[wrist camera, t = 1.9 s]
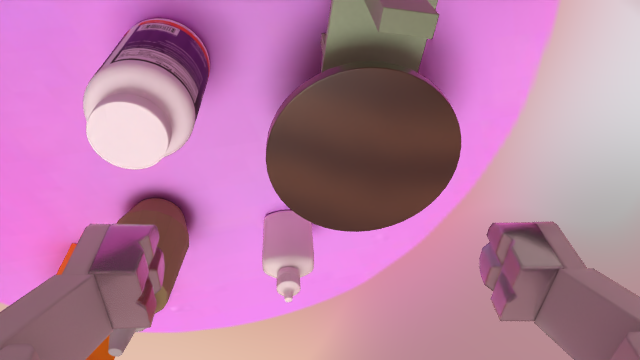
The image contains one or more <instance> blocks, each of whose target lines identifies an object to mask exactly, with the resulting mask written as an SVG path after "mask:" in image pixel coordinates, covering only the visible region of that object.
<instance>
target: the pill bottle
mask: <svg viewBox="0 0 640 360" xmlns="http://www.w3.org/2000/svg"><path fill="white" fill-rule="evenodd" d="M209 72H210V61H209V56H208V53H207V50H206V48H205V46H204V44H203V43H202V41H201V40H200V39H199V37H198V36H197V35H196V34H195V33H194V32H193V31H191V30H190V29H189V28H187V27H186V26H184V25H183V24H181V23H178V22H176V21H173V20H169V19H162V18H155V19H148V20H145V21H142V22H140V23H138V24H136V25H134V26H133V27H132V28H131V29H130V30H129V31H128V32H127V33H126V34H125V35H124V37H123V38H122V39H121V41H120V42H119V43H118V45H117V46H116V47H115V49H114V50H113V51H112V53H111V54H110V55H109V57H108V58H107V59H106V61H105V62H104V63H103V65H102V66H101V67H100V68H99V70H98V71H97V72H96V74H95V75H94V76H93V77H92V79H91V80H90V82H89V83H88V85H87V87H86V90H85V93H84V98H83V109H84V115H85V118H86V121H87V124H86V133H87V138H88V141H89V143H90V145H91V146H92V148H93V149H94V150H95V152H96V153H97V154H98V155H99V156H100V157H102V158H103V159H104V160H106V161H107V162H109V163H111V164H113V165H115V166H118V167H121V168H126V169H144V168H148V167H151V166H153V165H155V164H156V163H158V162H159V161H160V160H161V159H162V158H163V157H166V156H168V155H170V154H172V153H174V152H176V151H177V150H179V149H180V148H181V147H182V146H183V145H184V144H185V143H186V142H187V140H188V139H189V137H190V135H191V133H192V131H193V128H194V124H195V121H196V118H197V114H198V111H199V108H200V105H201V101H202V98H203V94H204V91H205V88H206V84H207V81H208V77H209Z"/></svg>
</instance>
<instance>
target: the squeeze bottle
mask: <svg viewBox="0 0 640 360" xmlns="http://www.w3.org/2000/svg"><path fill="white" fill-rule="evenodd" d="M117 224H144V225H155V226H157V228H158V232H159V236H160V238H159V241H158V245H157V246H158V247H159V248H160V249H161V250H162V251H163V255H164V265H165V270H164V280H163V284H162V288H161V290H160V291H158V292H157V293H156V294H155V298H156V302H157V306H156V309H155V313H157V312H159V311H160V310H162V309H163V308H164V306H165V305H166V303H167V302H168V299H169V296H170V294H171V291H172V289H173V286H174V283H175V281H176V278H177V276H178V273H179V270H180V268H181V265H182V262H183V260H184V257H185V255H186V252H187V249H188V247H189V234H188V230H187V226H186V222H185V218H184V215H183V213H182V211H181V210H180V208H179V207H177V206H176V205H175V204H174V203H172V202H170V201H167V200H164V199H158V198H150V199H146V200H142V201H141V202H140V203H138V204H137V205H135V206H134V207H133V208H132V209H131V210H130V211H129V212H128V213H126V214H125V215H124V216H123V217H122V218H121V219H120V220H119V221H118V223H117ZM155 313H154V314H155ZM153 317H154V316H153ZM152 321H153V320H152ZM144 329H146V328H127V329H112V330H113V332H112V333H111V334H110V335H109V348H108V353H109V354H110V355H112V356H120V355H122V353H123V351H124V350H125V348H126V346H127V345H128V343H129V341H130V339H131V338H132V336H133V334H134V333H135V332H139V331H143V330H144Z"/></svg>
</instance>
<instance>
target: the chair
mask: <svg viewBox="0 0 640 360" xmlns="http://www.w3.org/2000/svg"><path fill="white" fill-rule="evenodd" d="M437 2H438V0H331V7H330V13H329V19H328V26H327V32H326V34H324V33H322V35H321V41H320V43H321V49H322V55H323V58H322V64H321V73H322V72H324V71H326V70H328V69H331V68H334V67H337V66H340V65H344V64H350V63H355V62H368V61H372V62H385V63H391V64H396V65H399V66H402V67H406V68H409V69H411V70H413V71H415V72H417V73H418V69H419V66H420V62H421V59H422V55H423V52H424V48H425V44H426V41H427V39H432V38H433V35H434V31H435V28H436V24H437V21H438V17H439V14H438V13H437V12H436V10H435V9H436V6H437Z"/></svg>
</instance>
